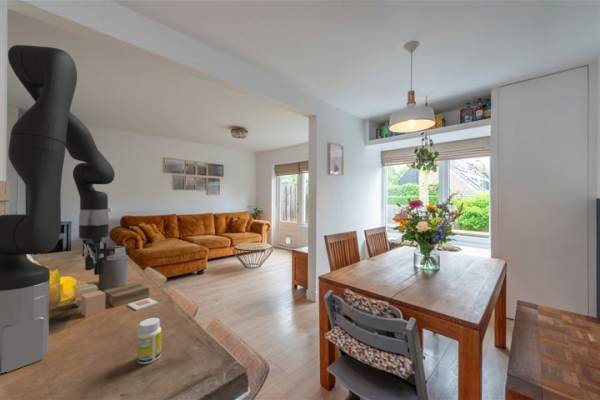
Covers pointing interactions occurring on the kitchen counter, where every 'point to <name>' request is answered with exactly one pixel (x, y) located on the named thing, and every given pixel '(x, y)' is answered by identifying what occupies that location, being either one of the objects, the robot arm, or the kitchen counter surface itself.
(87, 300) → the terracotta block
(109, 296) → the walnut block
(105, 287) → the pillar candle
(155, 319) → the supplement bottle
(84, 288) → the birch block
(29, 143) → the robot arm
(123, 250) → the coffee box
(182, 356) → the kitchen counter surface
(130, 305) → the card
